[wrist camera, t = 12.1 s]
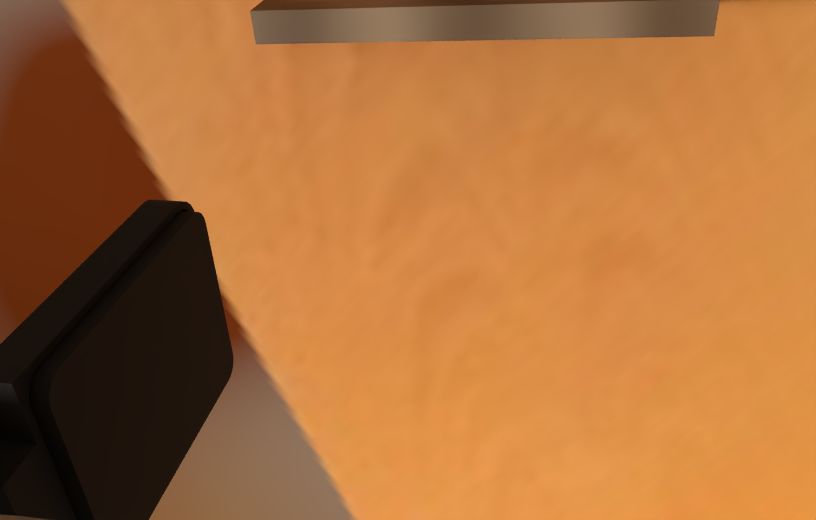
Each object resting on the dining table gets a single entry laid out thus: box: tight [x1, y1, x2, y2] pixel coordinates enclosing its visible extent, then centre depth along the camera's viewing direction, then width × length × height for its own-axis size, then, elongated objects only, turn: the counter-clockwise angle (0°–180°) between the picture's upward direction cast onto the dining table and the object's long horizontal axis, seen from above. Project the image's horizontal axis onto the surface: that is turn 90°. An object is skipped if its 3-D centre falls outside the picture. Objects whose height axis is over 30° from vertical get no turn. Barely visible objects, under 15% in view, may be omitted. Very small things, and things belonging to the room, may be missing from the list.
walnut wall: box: [250, 0, 720, 44], centre depth 28 cm, size 16×1×4 cm, turn 94°
